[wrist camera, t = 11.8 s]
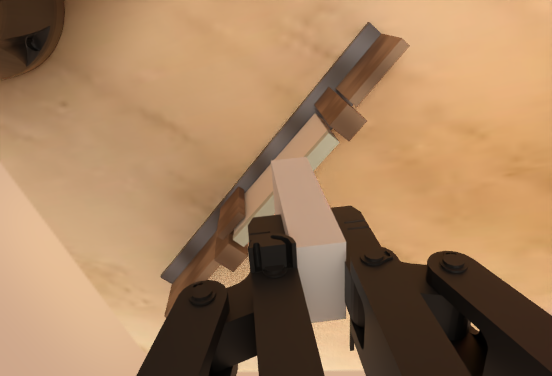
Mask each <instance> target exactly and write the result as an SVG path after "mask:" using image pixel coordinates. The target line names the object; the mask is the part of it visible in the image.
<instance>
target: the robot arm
mask: <svg viewBox="0 0 552 376" xmlns="http://www.w3.org/2000/svg"><path fill="white" fill-rule="evenodd" d="M63 23H64V0H0V80H3V79H7V78H11V77H14V76H17V75H20V74H23V73H26V72H28V71H30V70H32V69H34V68H36V67H37V66H39V65H40V64H41V63H42V62H44V61H45V60H46V59H47V58H48V56H49V55H50V54H51V53H52V51H53V50H54V48H55V47H56V45H57V43H58V41H59V38H60V35H61V32H62V28H63ZM271 170H272V183H273V195H274V208H275V215H270V216H261V217H253V218H252V220H251V221H250V223H249V224H248V235H249V246H248V254H249V262H250V273H249V275H248V276H247V277H246V278H245V279H244V280H243V281H241V282H240V283H238V284H236V285H234V286H231V287H228V288H225V286H224V285H223V284H221V283H219V282H217V281H211V280H205V281H199V282H196V283H193V284H190V285H189V286H187V287H186V288H184V289H183V290H182V291H181V292H180V294H179V295H178V297H177V299H176V301H175V303H174V304H173V306H172V308H171V310H170V312H169V314H168V316H167V318H166V320H165V322H164V324H163V326H162V328H161V329H160V331H159V333H158V335H157V337H156V339H155V341H154V343H153V345H152V347H151V349H150V351H149V353H148V354H147V356H146V358H145V360H144V362H143V364H142V366H141V368H140V370H139V372H138V374H137V376H236V374H237V370H238V363H240V362H243V361H245V360H248V359H250V358H252V357H255V356H257V358H258V371H259V376H324V372H323V368H322V364H321V360H320V356H319V352H318V348H317V344H316V340H315V336H314V332H313V328H312V324H311V323H315V322H323V321H331V320H339V319H346V306H347V309H348V312H349V314H350V351H352V350H354V343H355V346H356V349H357V351H358V354H359V357H360V360H361V363H362V366H363V369H364V371H365V374H366V376H552V316H551V315H550V314H549V313H547V312H546V311H544V310H543V309H542V308H540V307H539V306H537V305H536V304H535V303H533V302H532V301H531V300H529V299H528V298H526V297H525V296H524V295H522V294H521V293H519V292H518V291H517V290H515V289H514V288H513V287H511V286H510V285H508V284H507V283H506V282H504V281H503V280H502V279H500V278H499V277H497V276H496V275H495V274H493V273H492V272H490V271H489V270H488V269H486V268H485V267H484V266H482V265H481V264H479V263H478V262H477V261H475V260H474V259H472V258H470V257H469V256H467V255H465V254H462V253H458V252H453V251H442V252H436V253H434V254H432V255H431V256H430V257H429V258H428V260H427V265H421V264H410V263H404V262H401V261H400V260H399V259H398V257H397V256H396V255H395V254H394V253H393V252H392V251H391V250H389V249H386V248H384V247H381V246H380V244H379V242H378V241H377V239H376V237H375V236H374V234H373V232H372V230H371V229H370V228H369V225H368V224H367V222H366V221H365V219H364V217H363V215H362V214H361V212H360V211H358V210H357V209H355V208H354V207H352V206H344V207H334V208H330V206H329V204H328V202H327V200H326V197H325V195H324V193H323V191H322V189H321V187H320V185H319V182H318V180H317V178H316V176H315V174H314V172H313V169H312V167H311V165H310V163H309V161H308V159H307V157H300V158H290V159H280V160H271ZM471 322H472V323H473V324H474V325H475V326H476V327H477V328H478V329H479V330H480V331H479V332H478V331H477V330H476V329H474V328H473V327H472V326H471V325H470V324H471Z"/></svg>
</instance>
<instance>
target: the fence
mask: <svg viewBox="0 0 552 376" xmlns="http://www.w3.org/2000/svg"><path fill="white" fill-rule="evenodd" d="M409 46H410V45H409V44H407V43H406V42H405V41H404V40H403V39H402V38H398V37H394V36H389V35H385V34H381V33H380V32H379V31H378V30H377V29H376V28H375V27H374V26H373V25H372V24H371V23H370V22H368V23H367V24H366V25H365V26H364V28H363V29H362V30H361V31H360V33H359V34H358V35H357V36H356V37H355V39H354V40H353V41H352V42H351V44H350V45H349V46H348V47H347V48H346V50H345V51H344V52H343V53H342V55H341V56H340V57H339V58H338V59H337V61H336V62H335V63H334V64H333V66H332V67H331V68H330V69H329V70H328V72H327V73H326V74H325V75H324V77H323V78H322V79H321V80H320V81H319V83H318V84H317V85H316V86H315V88H314V89H313V90H312V91H311V92H310V94H309V95H308V96H307V97H306V99H305V100H304V101H303V102H302V103H301V105H300V106H299V107H298V108H297V110H296V111H295V112H294V113H293V114H292V116H291V117H290V118H289V119H288V121H287V122H286V123H285V124H284V125H283V127H282V128H281V129H280V130H279V132H278V133H277V134H276V135H275V136H274V138H273V139H272V140H271V141H270V143H269V144H268V145H267V146H266V147H265V149H264V150H263V151H262V152H261V154H260V155H259V156H258V157H257V158H256V160H255V161H254V162H253V163H252V165H251V166H250V167H249V168H248V169H247V171H246V172H245V173H244V174H243V176H242V177H241V178H240V179H239V180H238V182H237V183H236V184H235V185H234V187H233V188H232V189H231V190H230V191H229V193H228V194H227V195H226V196H225V198H224V199H223V200H222V201H221V202H220V204H219V205H218V206H217V207H216V209H215V210H214V211H213V212H212V213H211V215H210V216H209V217H208V218H207V220H206V221H205V222H204V223H203V224H202V226H201V227H200V228H199V229H198V231H197V232H196V233H195V234H194V235H193V237H192V238H191V239H190V240H189V242H188V243H187V244H186V245H185V246H184V248H183V249H182V250H181V251H180V253H179V254H178V255H177V256H176V257H175V259H174V260H173V261H172V262H171V264H170V265H169V266H168V267H167V268H166V270H165V271H164V272H163V273H162V275H161V278H162V279H164V280H166V281H168V282H170V283H171V284H172V286H171V291H170V295H169V299H168V303H167V308H166V312H165V317H166V318H167V316H168V314H169V312H170V310H171V308H172V306H173V304H174V303H175V301H176V299H177V297H178V295H179V294H180V292H181V291H182V290H183V289H184V288H186V287H187V286H189V285H190V284H193V283H196V282H199V281H205V280H207V279H208V278H209V277H210V276H211V275H212V274H213V272H214V271H215V270H216V269H217V268H218V267H219V266H220V264H221V265H223V266H224V267H226V268H228V269H229V270H231V271H233V272H234V271H235V270H236V269H237V268H238V266H239V265H240V264H241V263H242V262H243V261H244V260H245V258H246V257H247V256H248V247H247V244H246V245H245V247H243V246H241V245H240V244H238V243H237V242H235V241H234V240H233V235H234V228H235V227H236V226H237V225H238V224H239V222H240V221H241V220H242V219H243V218H244V217H245V200H244V194H245V193H246V192H247V190H248V189H249V188H250V187H251V186H252V185H253V183H254V182H255V181H256V180H257V179H258V178H259V177H260V175H261V174H262V173H263V172H264V171H265V170H266V169H267V167H268V166H269V165H270V164H271V160H274V159H275V158H276V157H277V156H278V155H279V154H280V153H281V151H282V150H283V149H284V148H285V147H286V146H287V145H288V143H289V142H290V141H291V140H292V139H293V138H294V136H295V135H296V134H297V133H298V132H299V131H300V130H301V128H302V127H303V126H304V125H305V124H306V123H307V122H308V120H309V119H310V118H311V117H312V116H313V115H314V114H315V113H316V114H317V115H318V116H319V117H321V118H322V119H323V120H324V122H325V123H326V124H327V126H328V127H329V129H330V130H332V129H334V130H336V131H337V132H338V133H339V134H341V135H342V136H343V137H344V138H345V139H347V140H348V141H350V140H351V139H352V138H353V136H354V135H355V134H356V133H357V132H358V131H359V130H360V128H361V127H362V126H363V125H364V124H365V123H366V122H367V120H366V119H365V118H364V117H362V116H361V115H360V114H359V113H358V112H357V111H356V110H355V109H354V108H353V107H352V105H353V104H354V105H355V106H356V107H357V106H358V105H359V104H360V103H361V102H362V100H363V99H364V98H365V97H366V96H367V95H368V93H369V92H370V91H371V90H372V89H373V88H374V86H375V85H376V84H377V83H378V82H379V81H380V80H381V78H382V77H383V76H384V75H385V74H386V73H387V71H388V70H389V69H390V68H391V67H392V66H393V65H394V63H395V62H396V61H397V60H398V59H399V58H400V56H401V55H402V54H403V53H404V52H405V51H406V50H407V48H408V47H409Z"/></svg>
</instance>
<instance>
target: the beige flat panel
mask: <svg viewBox="0 0 552 376" xmlns="http://www.w3.org/2000/svg"><path fill="white" fill-rule="evenodd" d="M339 143H340V142H339V141H338V139H337V138H336V137H335V136H334V134H333V133H332V131H331V130H330V129H329V127H328V126H327V124H326V123H325V122H324V120H323V119H322V118H321V117H319V116H318V115H317V114H316V113H315V114H314V115H313V116H312V117H311V118H310V119H309V120H308V122H307V123H306V124H305V125H304V126H303V127H302V128H301V130H300V131H299V132H298V133H297V134H296V135H295V136H294V138H293V139H292V140H291V141H290V142H289V143H288V145H287V146H286V147H285V148H284V149H283V150H282V151H281V153H280V154H279V155H278V156H277V157H276V158H275V159H274V160H280V159H290V158H300V157H307V159H308V161H309V163H310V165H311V167H312V169H313V171H314V170H315V169H316V168H317V167H318V166H319V165H320V163H321V162H322V161H323V160H324V159H325V158H326V157H327V156H328V155H329V154H330V153H331V151H332V150H333V149H334V148H335V147H336V146H337V145H338V144H339ZM244 200H245V217H244V218H243V219H242V220H241V221H240V222H239V224H238V225H237V226H236V227H235V228H234V235H233V240H234V241H235V242H237V243H238V244H240V245H241V246H243V247H245V245H246V244H247V243H248V242H249V235H248V224H249V223H250V221H251V220H252V218H253V217H261V216H270V215H274V214H275V208H274V195H273V183H272V170H271V164H270V165H269V166H268V167H267V169H266V170H265V171H264V172H263V173H262V174H261V175H260V177H259V178H258V179H257V180H256V181H255V182H254V183H253V185H252V186H251V187H250V188H249V189H248V190H247V192H246V193H245V194H244Z"/></svg>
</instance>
